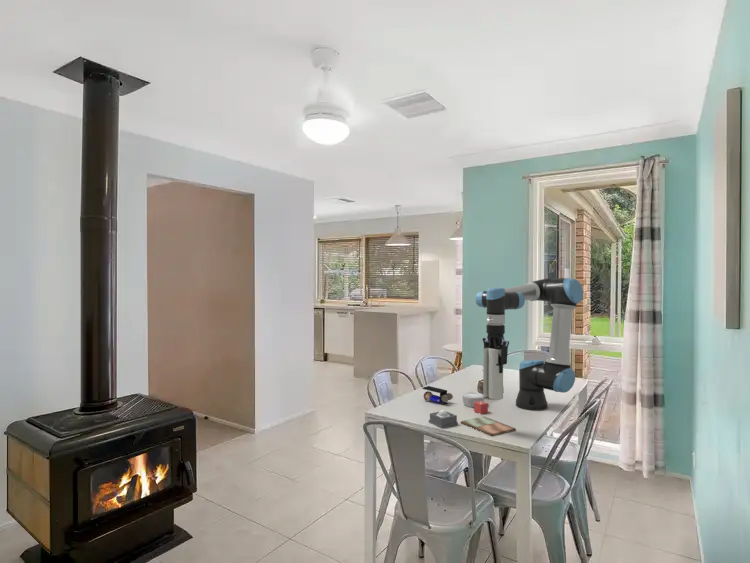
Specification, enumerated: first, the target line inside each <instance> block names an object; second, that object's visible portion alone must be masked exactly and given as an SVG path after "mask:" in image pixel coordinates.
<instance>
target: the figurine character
mask: <svg viewBox="0 0 750 563" xmlns="http://www.w3.org/2000/svg"><path fill="white" fill-rule="evenodd" d="M422 389H423V390H425V392H424V394H423V399H424V400H425V401H426V402H431V401H432V402H436V403H439V404H440V405H444V406H446V405H448V404H449V403H448V401H451V400H452V399H453V398H454V396H453V394H452V393H451V392H448V390H447V389H442V388H439V387H434V386H430V385H427V386H423V387H422ZM433 392H434V393H439V395H436V394H433Z"/></svg>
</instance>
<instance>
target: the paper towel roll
mask: <svg viewBox="0 0 750 563" xmlns="http://www.w3.org/2000/svg"><path fill="white" fill-rule="evenodd" d="M498 353H499V355H500V356H501V349H500V350H497V349H494V348H484V347H483V355H482V356H483V366H482V367H483V373H482V374H483V376H482V378H483V379H482V380H483V384H482V386H483V388H482V391H483V393H482V394H483V397H485V398H488V399H491V400H494V401H496V400H497V401H498V400H503V398H504V372H503V373H499V366H497V365H496V364H498Z"/></svg>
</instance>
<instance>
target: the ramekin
mask: <svg viewBox="0 0 750 563" xmlns="http://www.w3.org/2000/svg"><path fill="white" fill-rule="evenodd" d="M461 396H462V403H463V405H464V406H465V407H467V408H472V407H474V402H479V401H482V402H485V398H486V397H483V393H479V392H472V391H471V392H469V391H468V392H464V393H462V395H461Z"/></svg>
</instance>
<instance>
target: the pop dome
mask: <svg viewBox="0 0 750 563" xmlns="http://www.w3.org/2000/svg"><path fill="white" fill-rule="evenodd" d="M438 412H439V413H438V414H436V415H437V416H439V417H441V418H443V417H448V416H450V414H448V413H447V412H448V411H447V410H446V409H440V410H439V411H438Z"/></svg>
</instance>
